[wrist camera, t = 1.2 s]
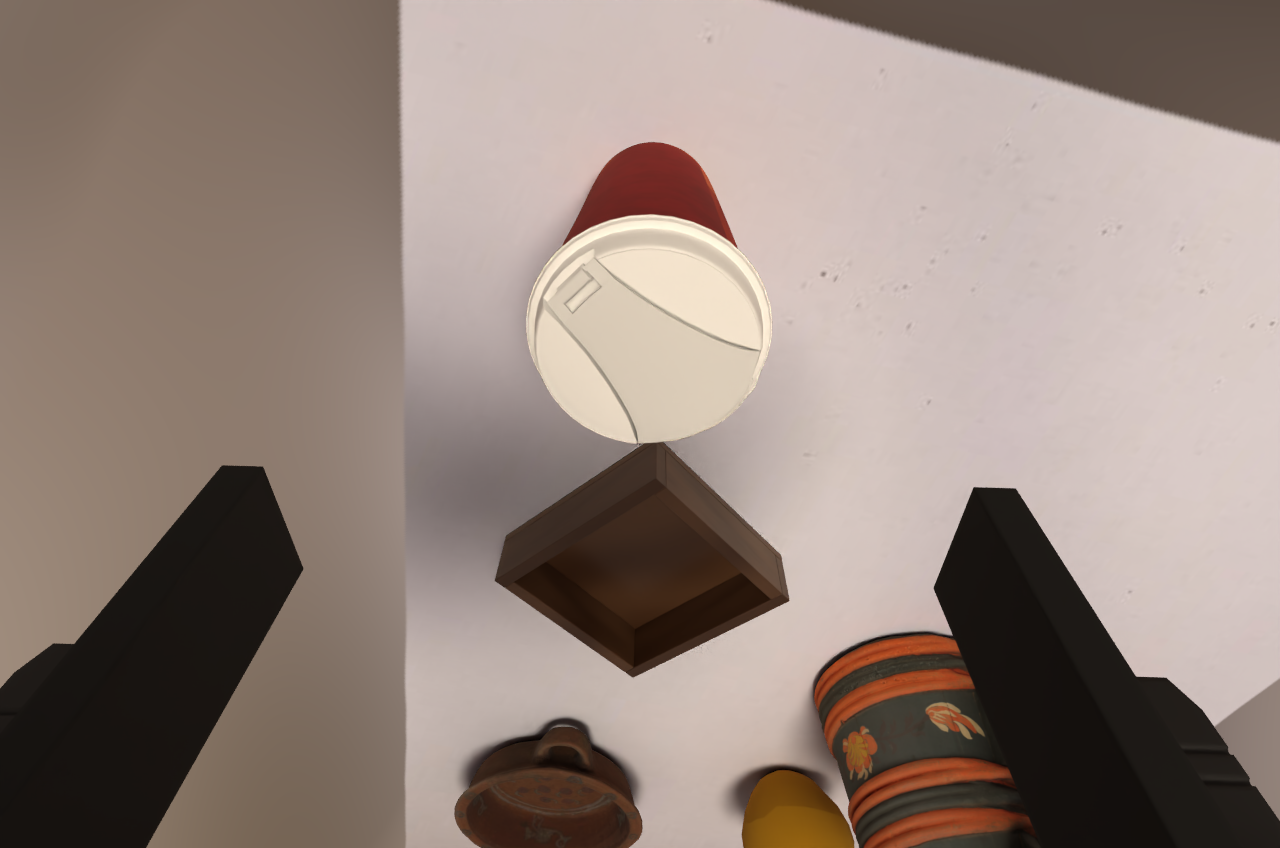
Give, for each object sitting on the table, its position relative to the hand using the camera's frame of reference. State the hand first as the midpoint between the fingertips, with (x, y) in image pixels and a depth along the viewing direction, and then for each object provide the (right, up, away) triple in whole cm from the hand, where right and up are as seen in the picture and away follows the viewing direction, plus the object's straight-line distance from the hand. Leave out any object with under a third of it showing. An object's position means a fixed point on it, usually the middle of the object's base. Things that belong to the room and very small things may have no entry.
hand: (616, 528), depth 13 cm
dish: (-8, -32, +54) cm, 63 cm away
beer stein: (+23, -18, +43) cm, 52 cm away
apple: (+15, -32, +53) cm, 64 cm away
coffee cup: (+1, +13, +21) cm, 25 cm away
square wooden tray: (+1, -7, +35) cm, 36 cm away
